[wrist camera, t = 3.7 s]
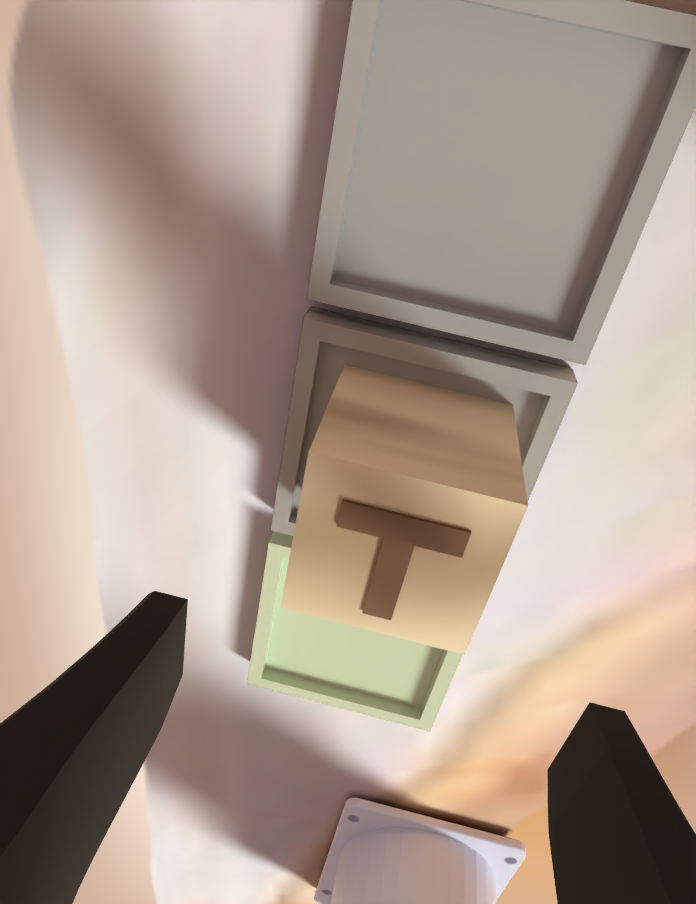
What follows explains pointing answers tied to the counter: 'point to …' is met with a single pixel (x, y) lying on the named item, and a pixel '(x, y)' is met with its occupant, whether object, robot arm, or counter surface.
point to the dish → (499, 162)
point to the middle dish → (421, 360)
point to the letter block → (406, 509)
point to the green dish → (343, 658)
